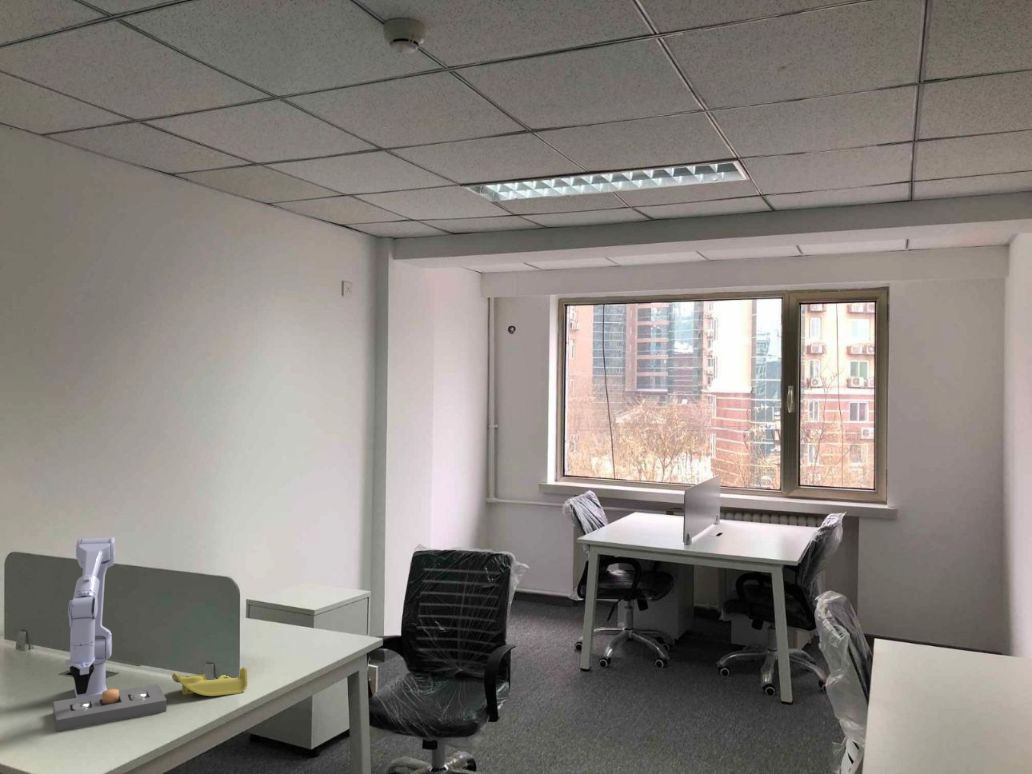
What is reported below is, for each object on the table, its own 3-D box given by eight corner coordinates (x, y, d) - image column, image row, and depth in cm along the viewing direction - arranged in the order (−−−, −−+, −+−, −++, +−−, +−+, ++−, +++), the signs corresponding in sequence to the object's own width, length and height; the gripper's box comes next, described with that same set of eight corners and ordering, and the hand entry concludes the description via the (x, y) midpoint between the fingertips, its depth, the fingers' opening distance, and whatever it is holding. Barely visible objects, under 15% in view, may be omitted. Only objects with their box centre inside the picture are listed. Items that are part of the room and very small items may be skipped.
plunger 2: (129, 701, 220) (129, 693, 220) (145, 699, 222) (145, 690, 222) (131, 706, 217) (131, 697, 217) (147, 703, 219) (147, 695, 219)
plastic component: (238, 671, 242) (247, 665, 235) (239, 697, 239) (247, 692, 232) (168, 677, 232) (175, 672, 225) (168, 704, 229) (175, 699, 221)
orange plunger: (101, 699, 216) (101, 690, 216) (117, 696, 219) (117, 687, 219) (102, 704, 213) (103, 695, 213) (119, 701, 215) (119, 692, 215)
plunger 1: (71, 712, 213) (71, 703, 213) (88, 709, 215) (88, 700, 215) (72, 717, 209) (73, 708, 209) (90, 714, 211) (90, 705, 211)
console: (53, 712, 215) (53, 701, 215) (157, 694, 229) (157, 684, 229) (56, 731, 203) (56, 720, 203) (166, 711, 217) (166, 700, 217)
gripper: (63, 637, 216) (62, 687, 216) (67, 652, 204) (66, 705, 204) (92, 633, 220) (91, 682, 220) (98, 648, 208) (97, 700, 208)
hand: (81, 693), depth 212 cm, fingers closed
